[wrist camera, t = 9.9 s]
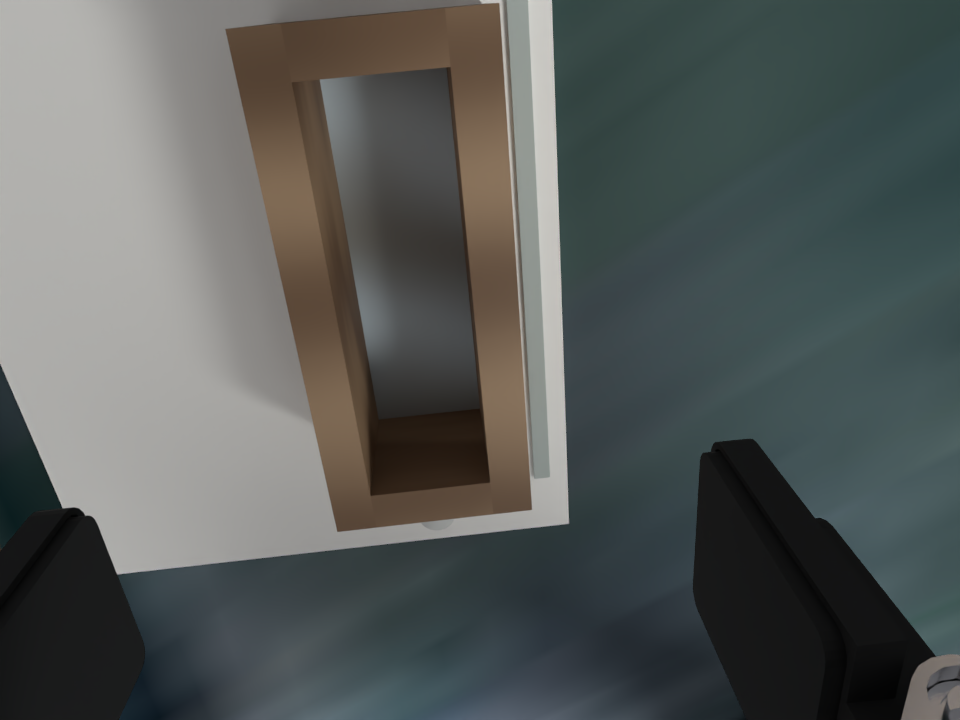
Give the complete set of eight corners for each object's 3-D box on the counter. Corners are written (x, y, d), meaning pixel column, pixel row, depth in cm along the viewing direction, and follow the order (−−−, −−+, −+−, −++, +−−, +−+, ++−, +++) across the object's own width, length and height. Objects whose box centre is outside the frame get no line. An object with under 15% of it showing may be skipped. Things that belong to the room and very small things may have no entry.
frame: (513, 424, 26) (531, 509, 22) (352, 442, 26) (337, 532, 22) (482, 3, 20) (499, 2, 16) (269, 24, 20) (225, 29, 15)
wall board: (566, 514, 29) (584, 577, 26) (98, 566, 29) (57, 637, 25) (543, -130, 19) (568, -156, 16) (-170, -67, 19) (-292, -82, 16)
